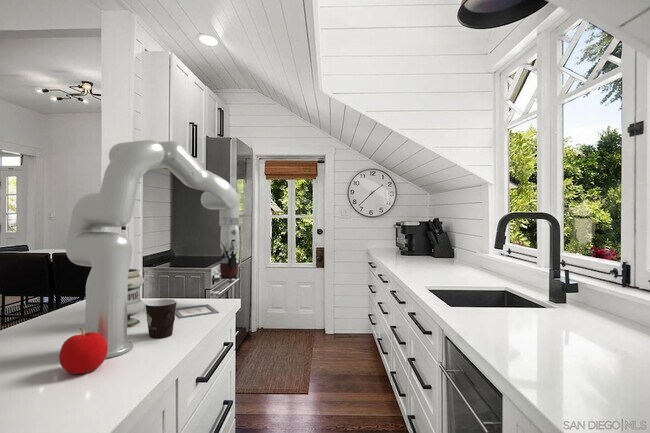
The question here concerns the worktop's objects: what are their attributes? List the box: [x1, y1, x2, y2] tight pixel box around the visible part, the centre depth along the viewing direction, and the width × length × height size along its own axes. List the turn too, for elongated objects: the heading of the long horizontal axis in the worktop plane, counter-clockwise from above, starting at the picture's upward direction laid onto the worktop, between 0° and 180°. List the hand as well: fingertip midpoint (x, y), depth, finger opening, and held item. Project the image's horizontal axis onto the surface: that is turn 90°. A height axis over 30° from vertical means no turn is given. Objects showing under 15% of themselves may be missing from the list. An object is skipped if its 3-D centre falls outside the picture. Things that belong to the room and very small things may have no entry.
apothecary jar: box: [127, 267, 145, 328], centre depth 117 cm, size 12×12×18 cm
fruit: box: [58, 326, 108, 375], centre depth 82 cm, size 9×9×10 cm
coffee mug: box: [144, 298, 178, 340], centre depth 105 cm, size 12×9×10 cm
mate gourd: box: [219, 242, 239, 281], centre depth 141 cm, size 8×8×15 cm
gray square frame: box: [175, 303, 220, 319], centre depth 134 cm, size 14×14×1 cm
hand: (228, 266), depth 141 cm, fingers closed on mate gourd, 7 cm apart
